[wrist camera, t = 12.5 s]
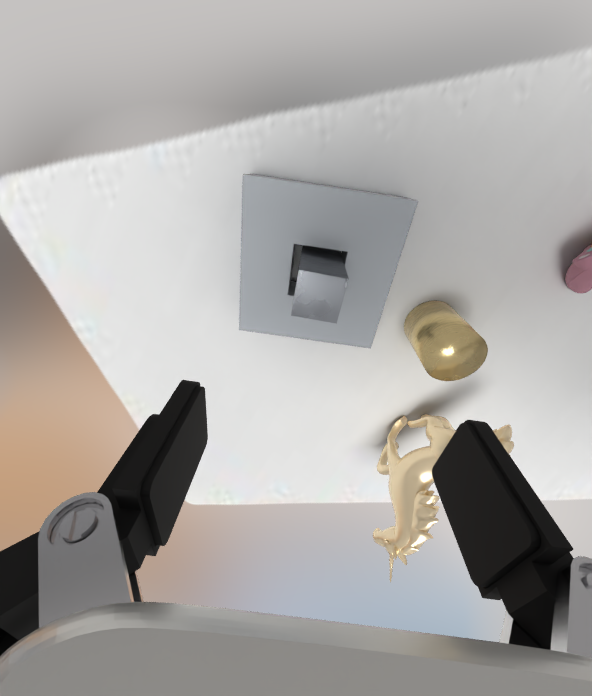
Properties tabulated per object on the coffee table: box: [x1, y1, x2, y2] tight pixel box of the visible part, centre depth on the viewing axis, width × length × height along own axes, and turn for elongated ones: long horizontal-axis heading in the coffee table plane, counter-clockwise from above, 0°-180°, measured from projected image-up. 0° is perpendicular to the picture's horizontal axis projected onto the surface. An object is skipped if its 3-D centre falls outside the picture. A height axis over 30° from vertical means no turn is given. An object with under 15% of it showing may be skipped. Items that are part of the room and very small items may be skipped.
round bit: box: [404, 301, 488, 381], centre depth 29 cm, size 6×6×7 cm
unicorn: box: [373, 414, 514, 581], centre depth 33 cm, size 20×4×17 cm, turn 141°
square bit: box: [291, 245, 349, 324], centre depth 25 cm, size 4×4×10 cm
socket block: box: [239, 174, 418, 348], centre depth 28 cm, size 14×14×4 cm
